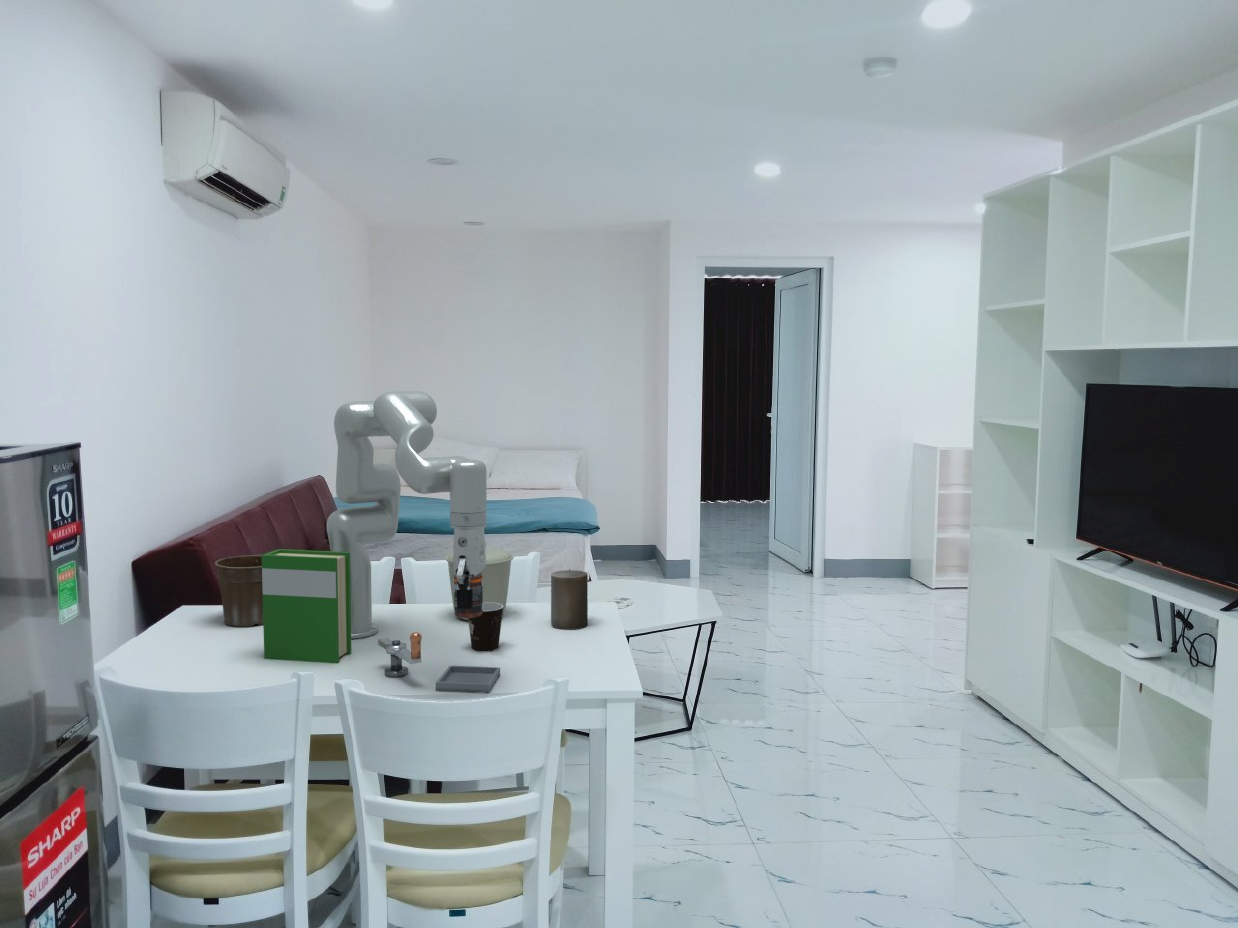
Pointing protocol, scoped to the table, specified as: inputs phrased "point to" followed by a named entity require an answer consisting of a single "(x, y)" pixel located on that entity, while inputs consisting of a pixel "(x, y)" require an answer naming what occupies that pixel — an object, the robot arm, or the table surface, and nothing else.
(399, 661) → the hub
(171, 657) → the table surface
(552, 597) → the pillar candle
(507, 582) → the canister
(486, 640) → the coffee mug
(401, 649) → the crank
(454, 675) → the tray
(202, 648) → the table surface
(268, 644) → the hardback book
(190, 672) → the table surface
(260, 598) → the plant pot
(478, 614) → the supplement bottle
